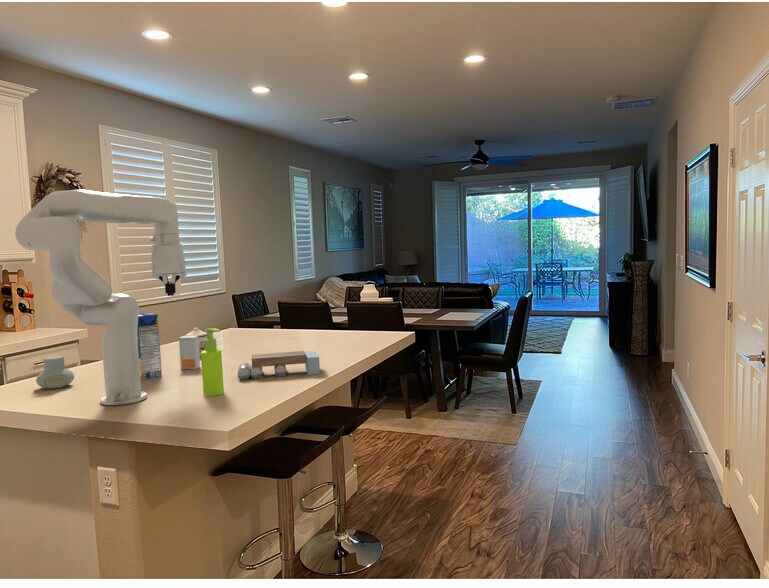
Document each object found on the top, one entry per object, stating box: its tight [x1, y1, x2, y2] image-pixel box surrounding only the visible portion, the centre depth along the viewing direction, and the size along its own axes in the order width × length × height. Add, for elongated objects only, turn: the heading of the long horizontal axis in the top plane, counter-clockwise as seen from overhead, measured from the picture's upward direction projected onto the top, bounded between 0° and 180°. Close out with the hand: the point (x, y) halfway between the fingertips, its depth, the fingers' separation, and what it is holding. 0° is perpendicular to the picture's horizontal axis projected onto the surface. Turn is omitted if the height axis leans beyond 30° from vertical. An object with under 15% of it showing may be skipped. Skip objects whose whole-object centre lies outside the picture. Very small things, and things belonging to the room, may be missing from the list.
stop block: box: [304, 350, 321, 376], centre depth 196 cm, size 12×4×6 cm, turn 13°
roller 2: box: [273, 365, 288, 378], centre depth 194 cm, size 11×4×4 cm, turn 12°
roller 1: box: [237, 362, 251, 381], centre depth 191 cm, size 11×4×4 cm
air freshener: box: [35, 355, 75, 390], centre depth 185 cm, size 11×8×10 cm
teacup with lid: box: [184, 327, 207, 358], centre depth 236 cm, size 12×9×12 cm
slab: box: [251, 350, 306, 368], centre depth 194 cm, size 8×18×3 cm, turn 102°
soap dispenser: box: [200, 327, 225, 397], centre depth 168 cm, size 6×7×20 cm
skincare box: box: [178, 335, 201, 370], centre depth 209 cm, size 6×4×12 cm
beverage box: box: [137, 312, 163, 380], centre depth 198 cm, size 7×11×22 cm, turn 42°
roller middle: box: [250, 364, 263, 380], centre depth 192 cm, size 11×4×4 cm
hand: (170, 295), depth 185 cm, fingers closed
